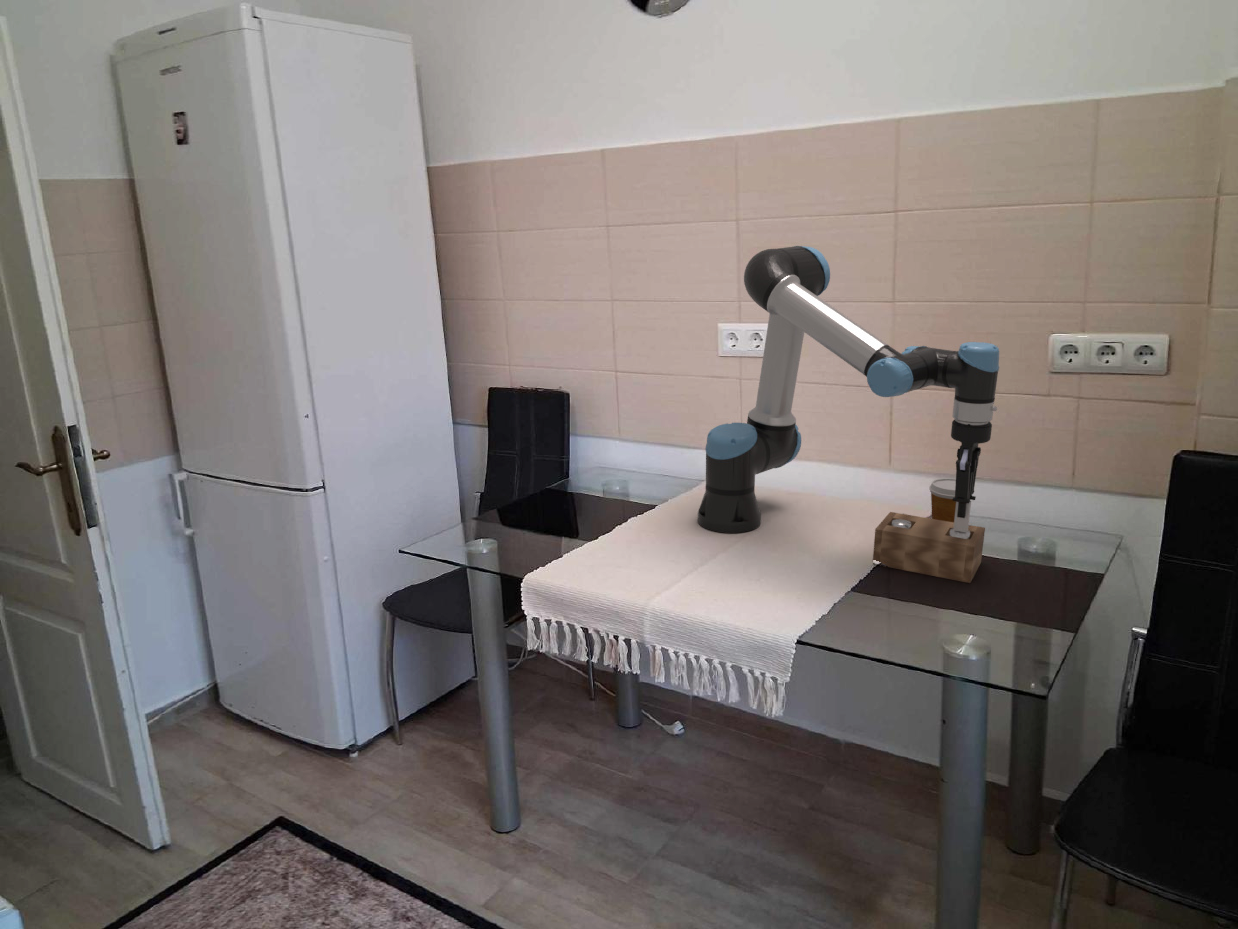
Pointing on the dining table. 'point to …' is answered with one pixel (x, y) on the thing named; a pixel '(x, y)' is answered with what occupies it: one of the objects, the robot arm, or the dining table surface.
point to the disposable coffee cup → (943, 499)
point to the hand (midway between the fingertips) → (960, 530)
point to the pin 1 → (901, 523)
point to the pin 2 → (960, 534)
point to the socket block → (928, 547)
